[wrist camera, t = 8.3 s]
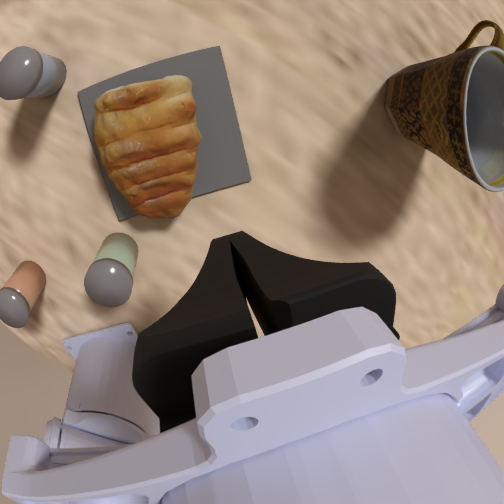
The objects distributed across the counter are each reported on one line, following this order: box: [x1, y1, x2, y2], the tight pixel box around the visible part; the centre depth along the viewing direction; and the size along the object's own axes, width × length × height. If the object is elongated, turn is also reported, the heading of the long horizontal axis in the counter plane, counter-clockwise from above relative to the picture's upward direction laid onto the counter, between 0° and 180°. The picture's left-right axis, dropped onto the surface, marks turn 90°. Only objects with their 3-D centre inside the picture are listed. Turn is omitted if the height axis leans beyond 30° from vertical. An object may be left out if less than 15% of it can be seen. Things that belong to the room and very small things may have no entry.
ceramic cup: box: [385, 20, 504, 192], centre depth 16 cm, size 13×10×10 cm
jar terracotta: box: [0, 261, 46, 328], centre depth 18 cm, size 3×3×5 cm
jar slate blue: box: [0, 46, 66, 100], centre depth 12 cm, size 3×3×5 cm
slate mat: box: [78, 46, 251, 221], centre depth 18 cm, size 10×10×1 cm
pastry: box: [94, 75, 202, 218], centre depth 17 cm, size 9×7×4 cm
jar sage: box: [84, 233, 138, 307], centre depth 19 cm, size 3×3×5 cm
